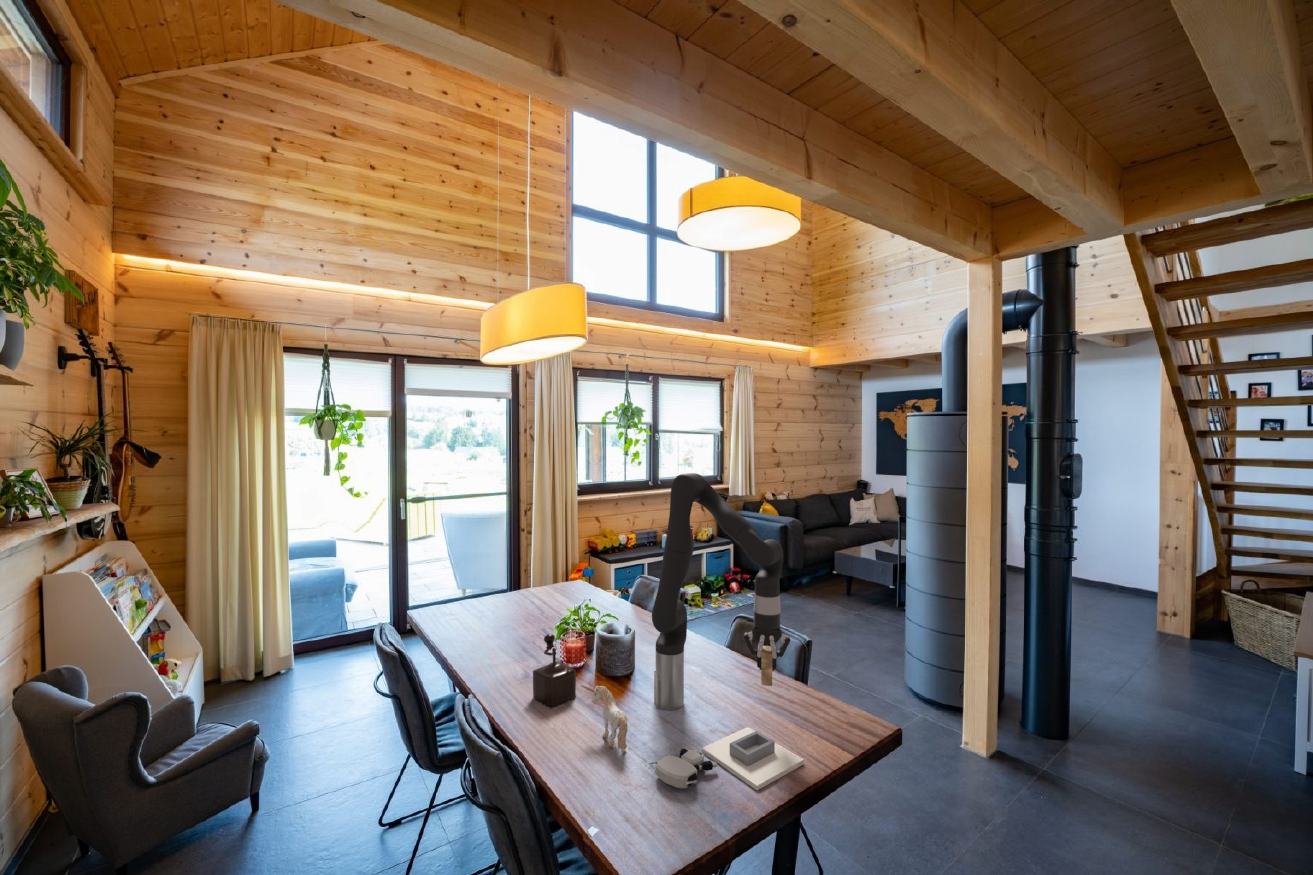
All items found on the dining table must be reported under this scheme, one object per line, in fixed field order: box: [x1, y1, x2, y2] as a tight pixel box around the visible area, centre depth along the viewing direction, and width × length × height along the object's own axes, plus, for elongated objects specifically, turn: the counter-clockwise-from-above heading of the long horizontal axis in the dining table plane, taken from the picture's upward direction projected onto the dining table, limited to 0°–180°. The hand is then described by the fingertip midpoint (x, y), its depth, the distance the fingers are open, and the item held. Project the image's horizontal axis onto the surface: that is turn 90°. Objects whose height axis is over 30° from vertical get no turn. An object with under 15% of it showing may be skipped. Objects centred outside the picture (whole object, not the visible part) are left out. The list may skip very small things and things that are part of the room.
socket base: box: [701, 726, 805, 791], centre depth 145 cm, size 18×20×4 cm
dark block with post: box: [532, 633, 577, 709], centre depth 180 cm, size 16×11×18 cm
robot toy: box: [648, 747, 719, 789], centre depth 137 cm, size 12×4×15 cm
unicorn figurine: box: [580, 684, 628, 752], centre depth 153 cm, size 7×20×13 cm, turn 43°
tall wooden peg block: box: [760, 645, 773, 687], centre depth 156 cm, size 3×6×9 cm, turn 169°
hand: (766, 669), depth 156 cm, fingers closed on tall wooden peg block, 3 cm apart
